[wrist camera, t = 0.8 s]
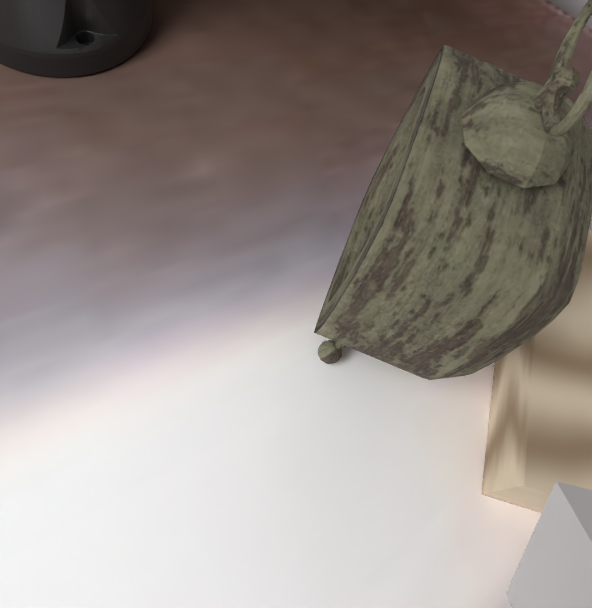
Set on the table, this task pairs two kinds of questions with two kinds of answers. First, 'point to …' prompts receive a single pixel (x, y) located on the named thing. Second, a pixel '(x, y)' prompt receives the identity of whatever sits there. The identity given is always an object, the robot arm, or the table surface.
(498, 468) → the maple base
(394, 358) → the tabletop clock
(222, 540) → the table surface
